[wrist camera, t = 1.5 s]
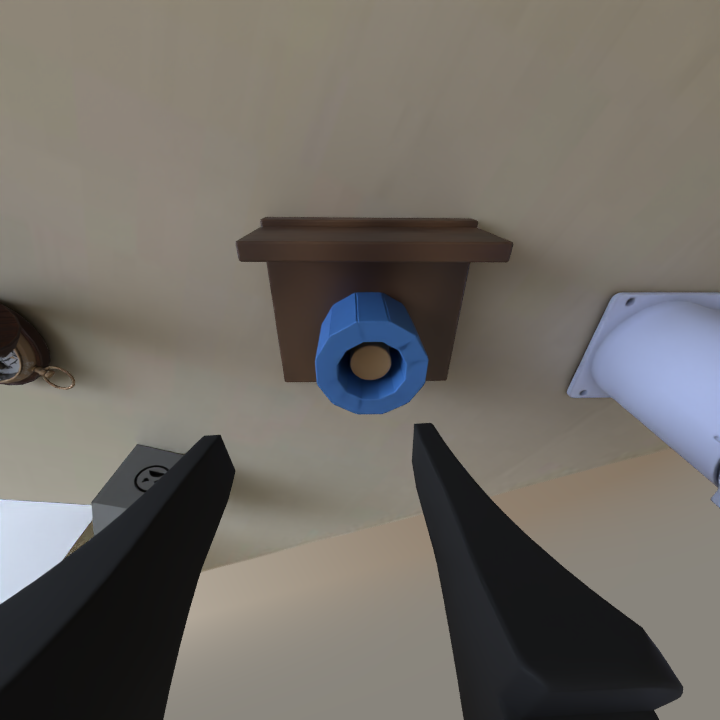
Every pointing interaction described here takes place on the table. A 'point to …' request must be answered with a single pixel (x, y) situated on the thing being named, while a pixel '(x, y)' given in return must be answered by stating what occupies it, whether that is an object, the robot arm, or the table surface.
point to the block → (36, 539)
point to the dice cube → (130, 483)
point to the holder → (368, 280)
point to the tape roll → (369, 324)
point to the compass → (23, 352)
